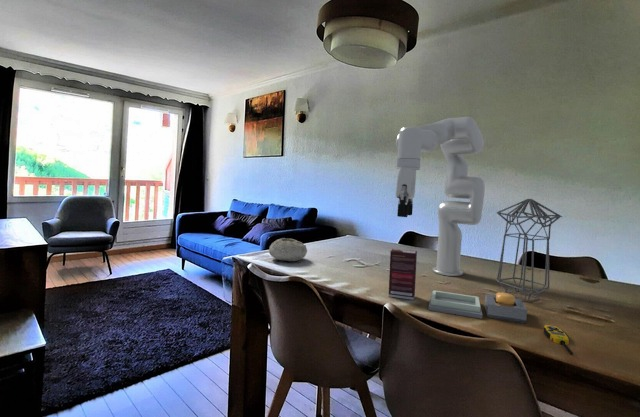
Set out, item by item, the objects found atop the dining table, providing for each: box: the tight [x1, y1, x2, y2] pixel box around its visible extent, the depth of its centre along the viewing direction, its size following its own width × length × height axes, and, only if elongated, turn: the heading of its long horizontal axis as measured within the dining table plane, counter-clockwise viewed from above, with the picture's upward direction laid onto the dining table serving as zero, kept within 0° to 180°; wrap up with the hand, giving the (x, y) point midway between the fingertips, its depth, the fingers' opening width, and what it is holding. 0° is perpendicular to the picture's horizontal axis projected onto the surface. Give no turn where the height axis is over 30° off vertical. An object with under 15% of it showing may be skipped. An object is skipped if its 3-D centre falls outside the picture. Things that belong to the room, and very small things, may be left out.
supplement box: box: [388, 248, 418, 301], centre depth 117 cm, size 9×5×16 cm, turn 71°
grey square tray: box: [428, 289, 483, 320], centre depth 109 cm, size 14×15×3 cm
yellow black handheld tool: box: [543, 324, 574, 355], centre depth 87 cm, size 5×2×15 cm
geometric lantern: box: [496, 198, 563, 303], centre depth 121 cm, size 16×16×35 cm
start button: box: [495, 292, 516, 306], centre depth 104 cm, size 5×5×3 cm
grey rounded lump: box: [268, 237, 308, 262], centre depth 163 cm, size 18×18×10 cm
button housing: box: [484, 293, 528, 324], centre depth 104 cm, size 10×10×4 cm
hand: (404, 215), depth 116 cm, fingers open, 9 cm apart
